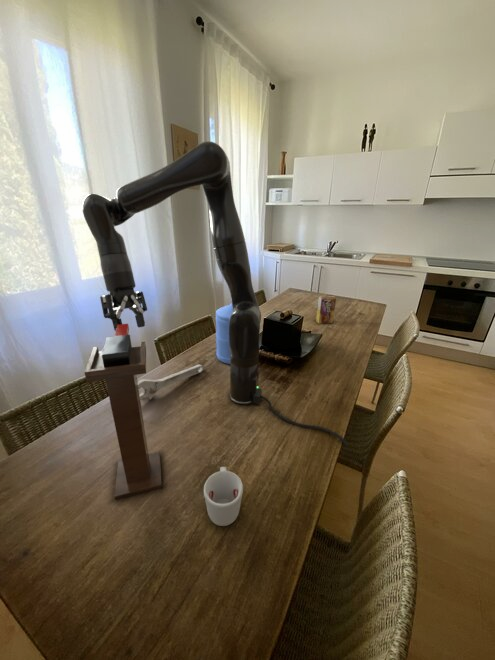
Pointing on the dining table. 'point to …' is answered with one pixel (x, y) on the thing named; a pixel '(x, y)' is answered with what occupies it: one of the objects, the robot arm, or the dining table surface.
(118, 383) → the stand
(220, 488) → the cup
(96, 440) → the dining table surface
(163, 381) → the wrench
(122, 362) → the black and white bar
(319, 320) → the candy box
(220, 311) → the water jug
